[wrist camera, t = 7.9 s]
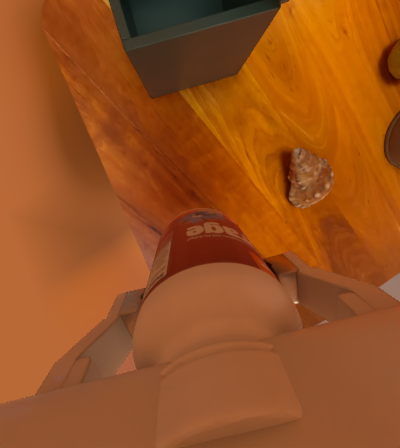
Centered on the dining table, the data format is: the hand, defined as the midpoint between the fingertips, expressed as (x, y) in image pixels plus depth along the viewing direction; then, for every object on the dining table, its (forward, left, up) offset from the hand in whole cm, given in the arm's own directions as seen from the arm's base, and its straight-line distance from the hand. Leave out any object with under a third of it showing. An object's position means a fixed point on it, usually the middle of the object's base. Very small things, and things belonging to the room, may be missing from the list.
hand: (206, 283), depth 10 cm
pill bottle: (0, 0, -5) cm, 5 cm away
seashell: (+20, -3, -26) cm, 33 cm away
